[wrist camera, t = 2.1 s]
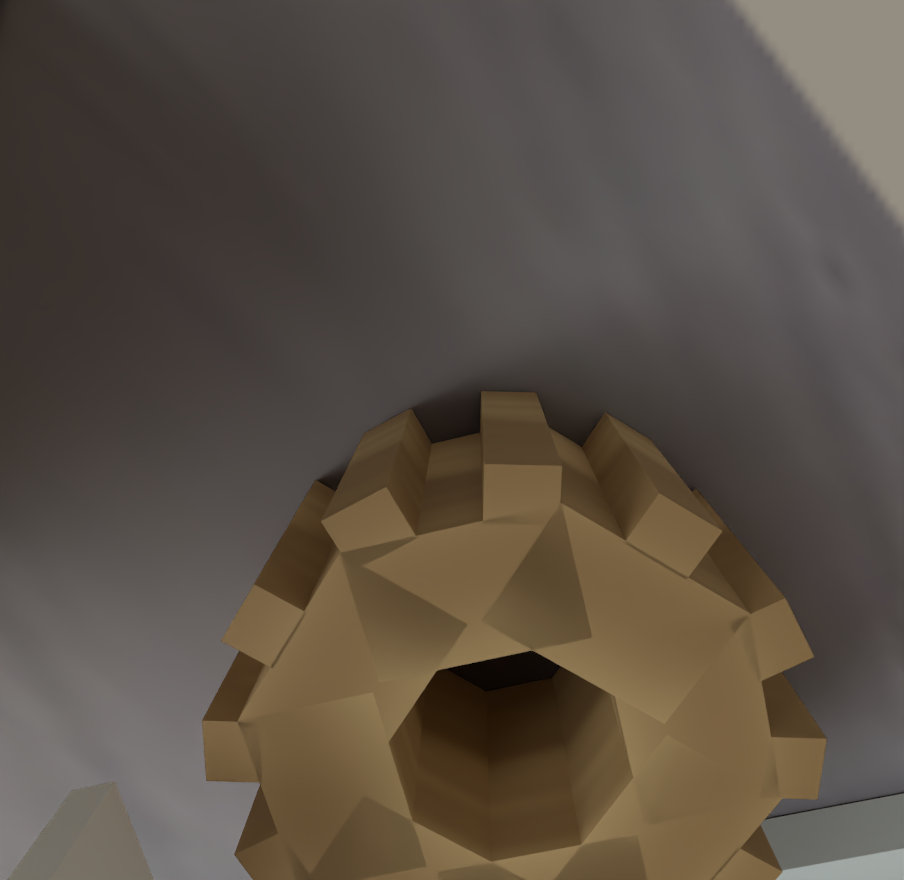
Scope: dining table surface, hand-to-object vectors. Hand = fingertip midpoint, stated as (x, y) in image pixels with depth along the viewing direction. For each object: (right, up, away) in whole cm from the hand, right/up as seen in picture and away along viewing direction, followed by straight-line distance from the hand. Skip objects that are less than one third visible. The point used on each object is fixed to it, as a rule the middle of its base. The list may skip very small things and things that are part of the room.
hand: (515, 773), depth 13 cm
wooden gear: (0, +2, +4) cm, 5 cm away
